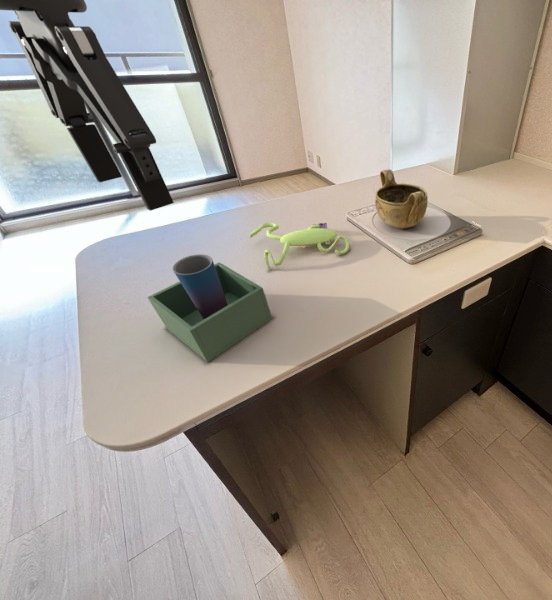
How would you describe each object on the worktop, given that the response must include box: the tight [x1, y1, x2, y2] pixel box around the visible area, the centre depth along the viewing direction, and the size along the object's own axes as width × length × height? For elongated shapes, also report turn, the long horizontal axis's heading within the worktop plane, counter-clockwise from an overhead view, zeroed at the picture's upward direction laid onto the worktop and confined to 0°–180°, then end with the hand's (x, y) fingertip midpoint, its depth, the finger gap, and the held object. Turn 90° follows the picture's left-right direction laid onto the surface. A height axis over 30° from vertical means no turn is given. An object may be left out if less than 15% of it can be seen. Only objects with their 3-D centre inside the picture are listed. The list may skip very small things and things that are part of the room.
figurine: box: [248, 222, 350, 271], centre depth 95 cm, size 18×27×6 cm
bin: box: [147, 262, 273, 363], centre depth 69 cm, size 16×16×9 cm
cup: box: [172, 253, 228, 319], centre depth 67 cm, size 7×7×15 cm
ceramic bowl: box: [374, 168, 429, 230], centre depth 105 cm, size 22×17×15 cm
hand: (133, 191), depth 42 cm, fingers open, 13 cm apart
